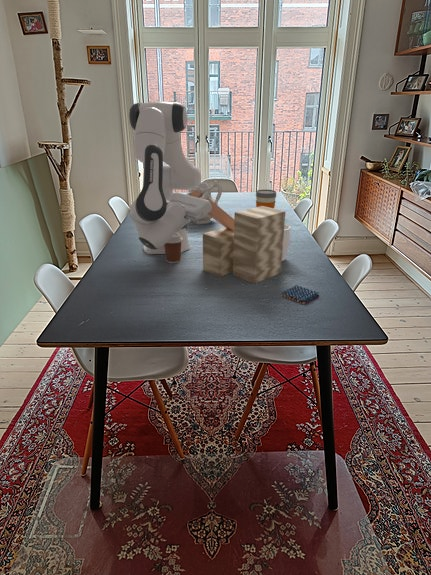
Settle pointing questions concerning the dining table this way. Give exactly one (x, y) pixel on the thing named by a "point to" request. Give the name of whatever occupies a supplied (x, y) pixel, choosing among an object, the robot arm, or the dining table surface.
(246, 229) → the stand
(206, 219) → the ceramic pitcher
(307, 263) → the dining table surface
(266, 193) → the reusable coffee cup
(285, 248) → the jar
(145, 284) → the dining table surface
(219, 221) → the rod
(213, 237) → the base block
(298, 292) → the woven mat
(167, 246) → the coffee cup
